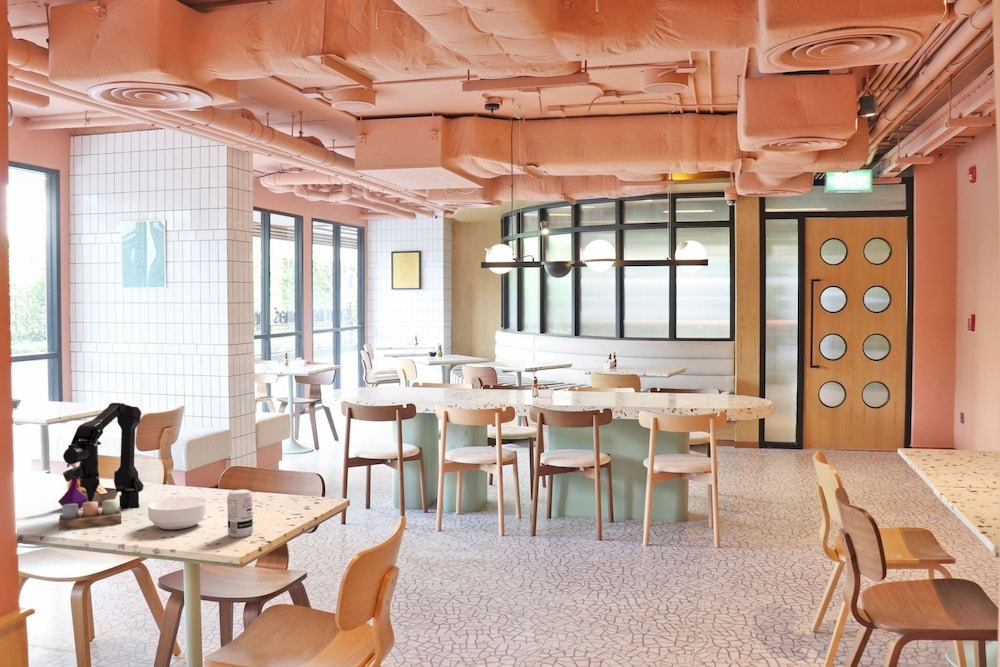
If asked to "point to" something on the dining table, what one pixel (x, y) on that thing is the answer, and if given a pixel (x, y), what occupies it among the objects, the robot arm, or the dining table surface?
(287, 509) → the dining table surface
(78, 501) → the perfume bottle
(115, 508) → the pale green rounded cube
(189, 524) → the bowl
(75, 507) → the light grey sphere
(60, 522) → the wooden compartment tray
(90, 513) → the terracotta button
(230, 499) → the supplement can
